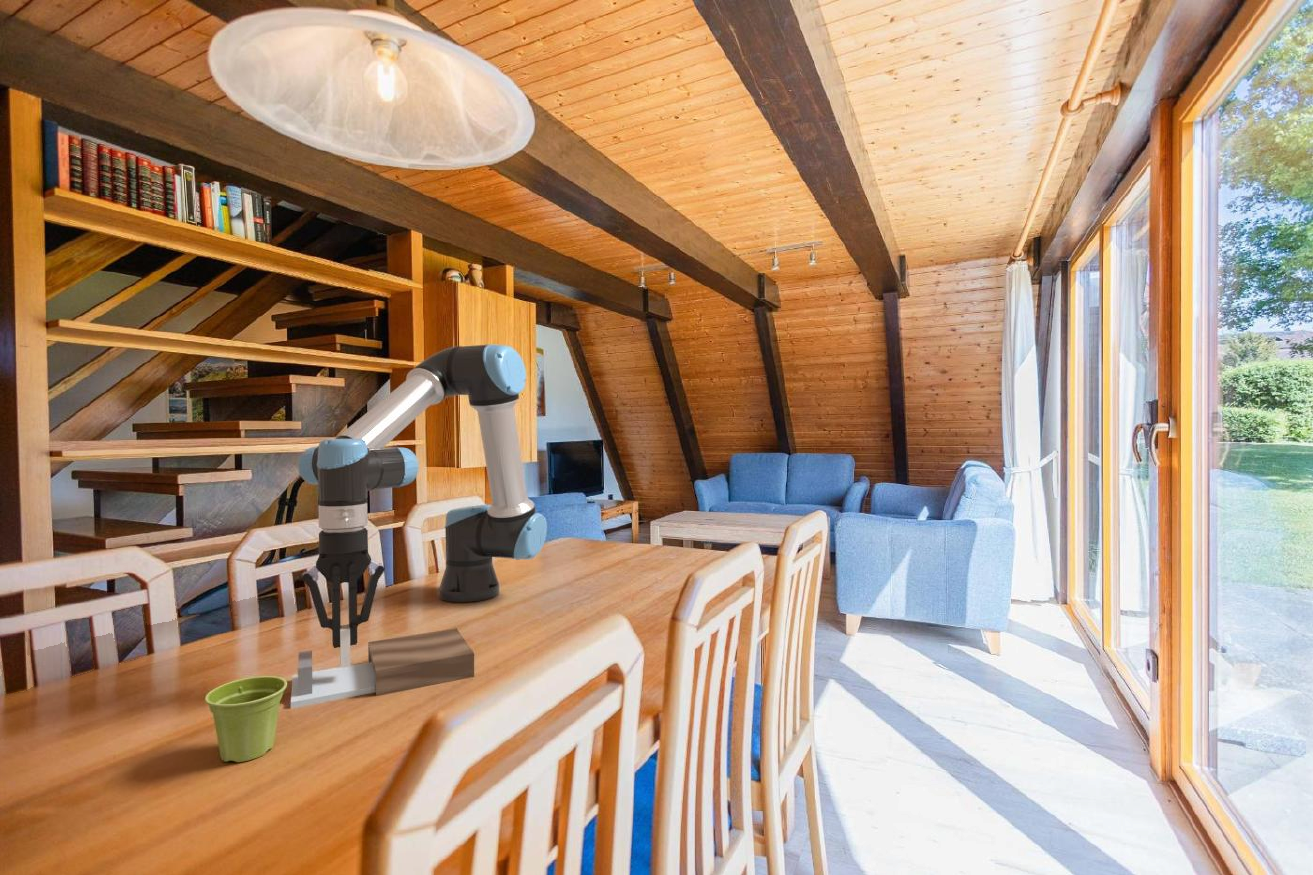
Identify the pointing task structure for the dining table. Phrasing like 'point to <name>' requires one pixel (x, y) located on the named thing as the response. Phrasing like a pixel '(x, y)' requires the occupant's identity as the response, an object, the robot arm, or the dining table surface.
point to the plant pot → (246, 716)
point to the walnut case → (420, 660)
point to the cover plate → (329, 682)
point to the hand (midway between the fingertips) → (345, 664)
